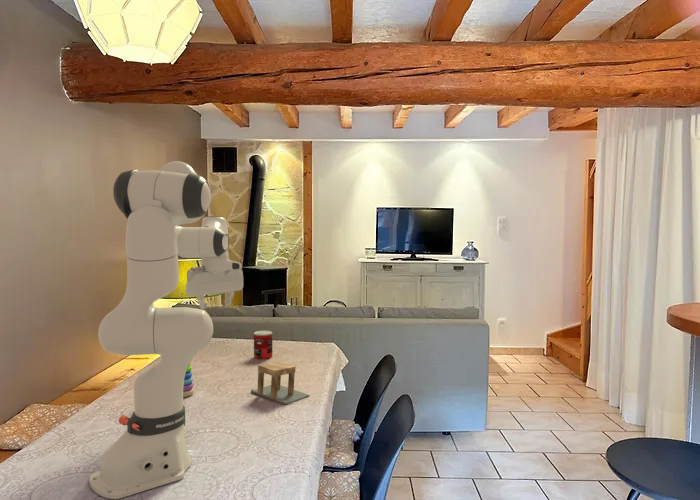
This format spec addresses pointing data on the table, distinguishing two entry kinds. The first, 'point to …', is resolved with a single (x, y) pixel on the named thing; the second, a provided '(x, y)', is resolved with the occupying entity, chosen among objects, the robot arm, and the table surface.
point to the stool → (276, 377)
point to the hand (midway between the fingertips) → (215, 306)
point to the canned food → (263, 344)
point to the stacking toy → (188, 383)
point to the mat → (281, 395)
